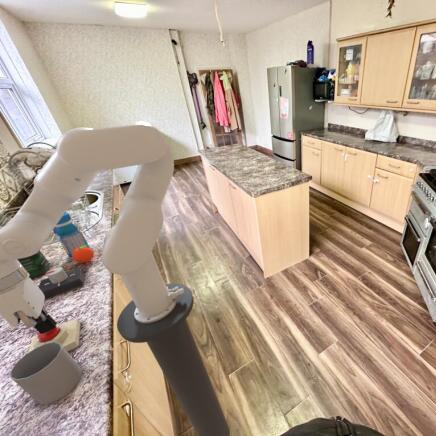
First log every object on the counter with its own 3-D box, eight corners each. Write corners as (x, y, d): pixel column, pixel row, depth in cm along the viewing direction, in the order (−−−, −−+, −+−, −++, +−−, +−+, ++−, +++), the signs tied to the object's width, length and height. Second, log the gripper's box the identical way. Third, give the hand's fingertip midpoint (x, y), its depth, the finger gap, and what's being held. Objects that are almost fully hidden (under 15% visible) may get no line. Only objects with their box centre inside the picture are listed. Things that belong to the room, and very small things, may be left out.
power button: (60, 326, 67) (57, 322, 66) (59, 336, 64) (55, 332, 63) (42, 334, 65) (38, 330, 64) (39, 345, 62) (35, 341, 61)
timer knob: (68, 273, 89) (62, 265, 87) (67, 279, 86) (61, 270, 84) (53, 278, 87) (46, 270, 85) (51, 285, 84) (44, 276, 82)
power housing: (80, 322, 72) (74, 313, 71) (78, 346, 65) (71, 337, 63) (37, 341, 67) (28, 332, 65) (29, 369, 60) (20, 360, 58)
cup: (83, 360, 62) (64, 335, 57) (80, 388, 55) (58, 363, 51) (41, 380, 57) (16, 356, 53) (32, 413, 51) (3, 388, 47)
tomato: (92, 253, 106) (85, 240, 103) (102, 256, 104) (95, 243, 101) (73, 264, 100) (64, 251, 96) (83, 267, 97) (75, 253, 94)
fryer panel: (84, 272, 94) (80, 266, 93) (83, 284, 88) (79, 278, 86) (45, 286, 88) (40, 280, 87) (40, 300, 82) (35, 294, 80)
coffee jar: (47, 274, 95) (19, 235, 86) (20, 282, 91) (-11, 242, 83) (53, 262, 102) (28, 225, 94) (28, 269, 99) (0, 231, 90)
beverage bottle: (81, 259, 103) (57, 219, 93) (63, 259, 103) (38, 220, 94) (96, 248, 110) (75, 210, 101) (80, 248, 111) (57, 211, 101)
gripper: (-9, 270, 58) (36, 318, 67) (-33, 307, 48) (24, 359, 57) (32, 257, 62) (69, 305, 71) (18, 288, 51) (63, 340, 60)
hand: (49, 328), depth 64 cm, fingers closed
